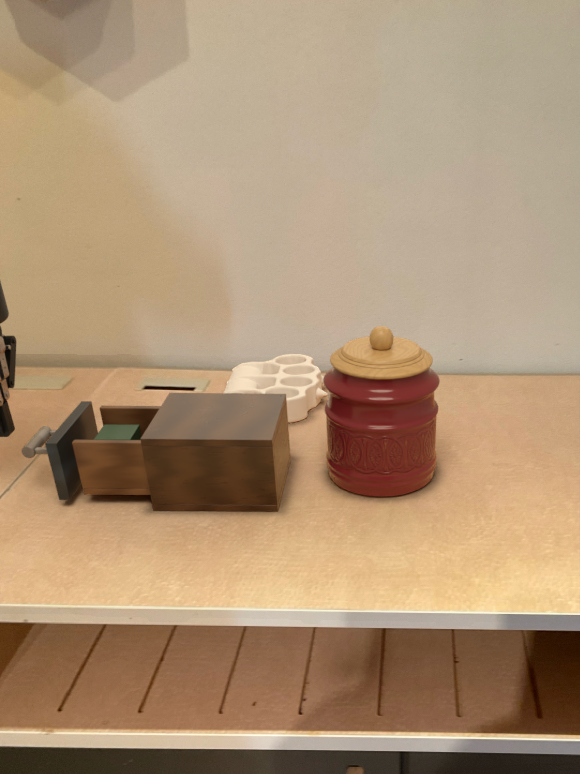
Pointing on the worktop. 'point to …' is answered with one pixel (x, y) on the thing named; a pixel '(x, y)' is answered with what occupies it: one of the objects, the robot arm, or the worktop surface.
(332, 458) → the kitchen canister
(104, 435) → the block
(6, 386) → the robot arm
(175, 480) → the cabinet
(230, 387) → the white egg tray
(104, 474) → the drawer
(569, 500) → the worktop surface
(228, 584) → the worktop surface
